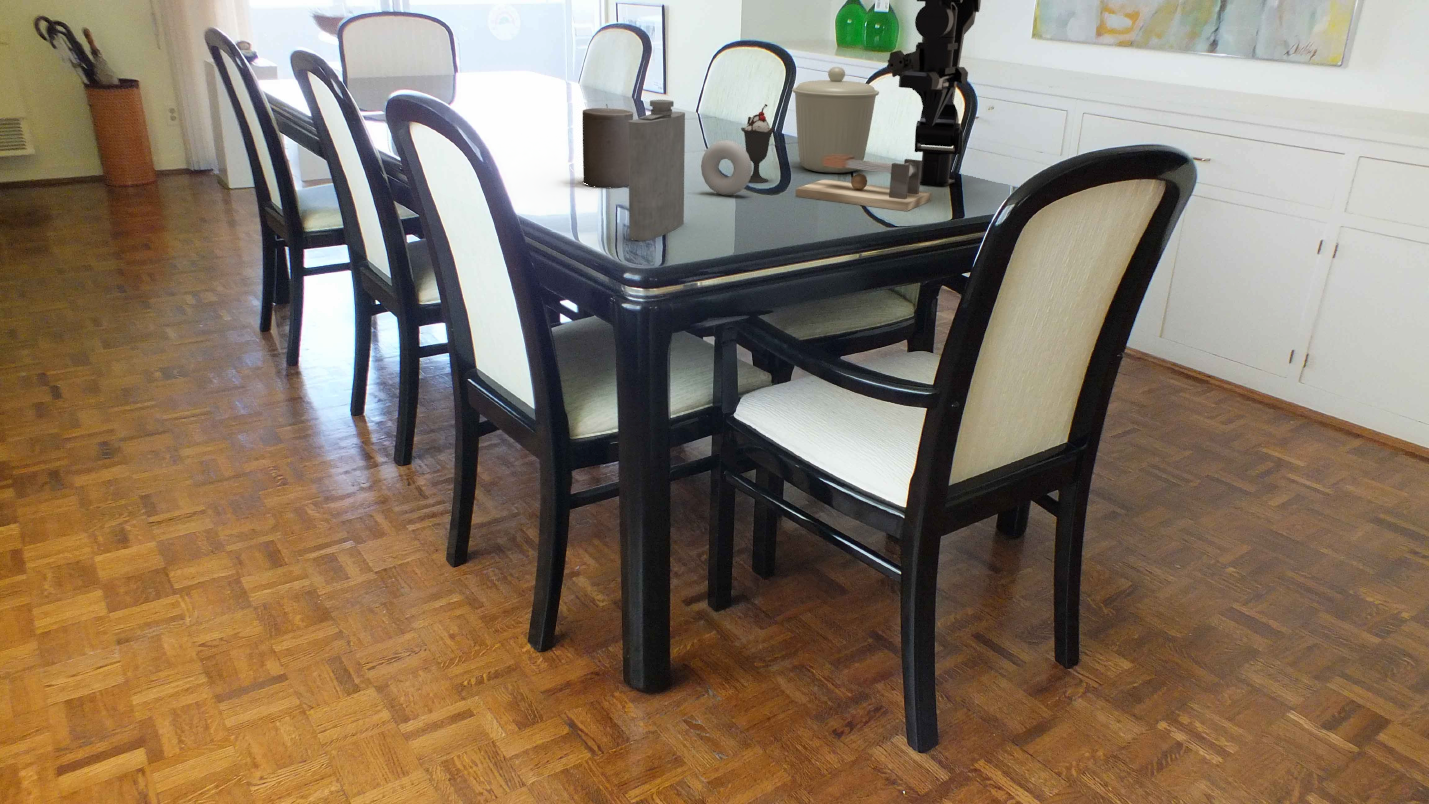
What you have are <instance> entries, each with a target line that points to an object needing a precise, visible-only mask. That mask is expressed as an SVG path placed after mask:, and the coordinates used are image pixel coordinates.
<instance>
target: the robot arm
mask: <svg viewBox="0 0 1429 804" xmlns="http://www.w3.org/2000/svg"><path fill="white" fill-rule="evenodd" d="M916 2H922V3H923V2H924V5H923V6H922V7H921V8H920V9H919V11H917V14H916V17H915V19H914V23H915V29H916V31H917V33H918V34H919V35H920V36H921V41H919V42H917V43H916V45H915V50H914V51H911V52H909V53H908V52H907V53H905V54H904V52H903V51H902V50H895V51H892V52H890V53H889V58H888V59H887V65H886V68H887V69H888V70H890V71H891V75H892V78H895V77H899V79H898V87H899V88H905V89H912V91H914V92H915V93H917V95H918V96H919V97H920V101H921V104H922V109H921V114H920V119H919V120H917V122H916V124H915V134H914V136H915V138H914V153H922V155H921V160H922V167H921V177H920V185H926V186H928V185H929V186H936V187H947V186H949V185H951V184H953V183H955V179H950V174H951V173H950V172H951V163H952V155H954V156H957V155H962V154H963V149H964V148H963V146H964V130H963V129H962V123H961V122H960V119H959V114H958V112H959V111H958V109H957V107H956V105H955V102H954V101H955V95H956V89H957V83H958V84H967V83H968V78H969V77H968V76H969V72H968V70H967V69H966V68H965V67H964V66H960V63H961V58H962V51H963V45H964V41H965V40H964V39H965V36H966V34H967V33H968V32H969V30H970V29H971V28H972V27H973V26H974V25H975V21H976V17H977V15H976V14H977V13H980V10H981V4H982V0H916Z"/></svg>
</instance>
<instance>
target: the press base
mask: <svg viewBox="0 0 1429 804" xmlns="http://www.w3.org/2000/svg"><path fill="white" fill-rule="evenodd" d="M903 161H904V163H898V162H897V163H896V162H893V163H891V164H892V168H891V173H890V182H889V186H888V187H887V186H880V185H872V184H868V178H867V176H866V175H865V174H863V173H861V172H860V173H856V174H854V175H852V177H851V179H850V182H848V181H839V180H832V179H831V180H830V179H826V178H825V179H821V180H819V181H815V182H811V183H808V184H806V185H802V186H799V187H796V188H795V197H797V198H804V199H813V200H819V201H820V200H821V201H826V202H835V203H842V204H849V205H850V204H851V205H857V206H865V207H873V208H879V209H886V210H888V209H889V210H895V211H904V212H908V211H910V210H913V209H915V208H917V207H919V206H922V205H925V204H927V203H928V202H931V201H932V192H930V191H921V190H920V187H921V184H920V177H921V167H922V159H921V160H919V159H913V158H912V159H911V158H906V159H904V160H903ZM909 162H913V163H915V164H916V166H917V172H916V174H914V175H912V176H910V177H909V169H910V165H908V164H906V163H909Z"/></svg>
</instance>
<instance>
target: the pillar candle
mask: <svg viewBox="0 0 1429 804" xmlns="http://www.w3.org/2000/svg"><path fill="white" fill-rule="evenodd" d="M605 106H606V107H604V108H603V107H598V108H597V107H596V108H595V107H592V108H586V109H583V110H582V162H583V163H582V164H583V165H582V166H583V168H582V170H583V171H582V173H583V181H582V183H583V182H584V183H586V184H588V185H591V186H595V187H594V188H600V187H611V188H610V189H615V188H616V189H617V188H618V189H619V188H627V187H629V136H628V121H629V120H634V111H631V110H627V109H624V108H623V109H622V108H611V107H610V108H609V106H608V103H606V104H605ZM591 186H590V187H591Z"/></svg>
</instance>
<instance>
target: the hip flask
mask: <svg viewBox="0 0 1429 804" xmlns="http://www.w3.org/2000/svg"><path fill="white" fill-rule="evenodd" d="M674 103H675V101H674V100H671V99H670V100H669V99H652V100H651V99H650V100H649V107H651V108H652V109H650V114H649V113H648V114H647V115H646V114H645V115H643V116H640V117H638V118H637V119H636V118H635V119H633V120H629V121H628V136H629V186H628V216H629V217H628V225H629V226H628V227H629V228H628V229H629V231H628V233H629V234H628V235H629V236H628V237H629V238H630V239H633V240H632V241H634V240H638V241H637V242H645V241H644V240H646V241H649V240H652V239H656V238H659V237H661V236H664V235H667V234H669V233H671V232H672V231H675V230H677V229H678V228H680V227H681V226H682V225H684V223H685V219H684V217H685V153H686V152H685V148H686V147H685V146H686V144H685V139H686V134H685V133H686V130H685V129H686V127H685V126H686V112H684V111H674V110H673V107H674ZM630 239H629V240H630Z"/></svg>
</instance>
